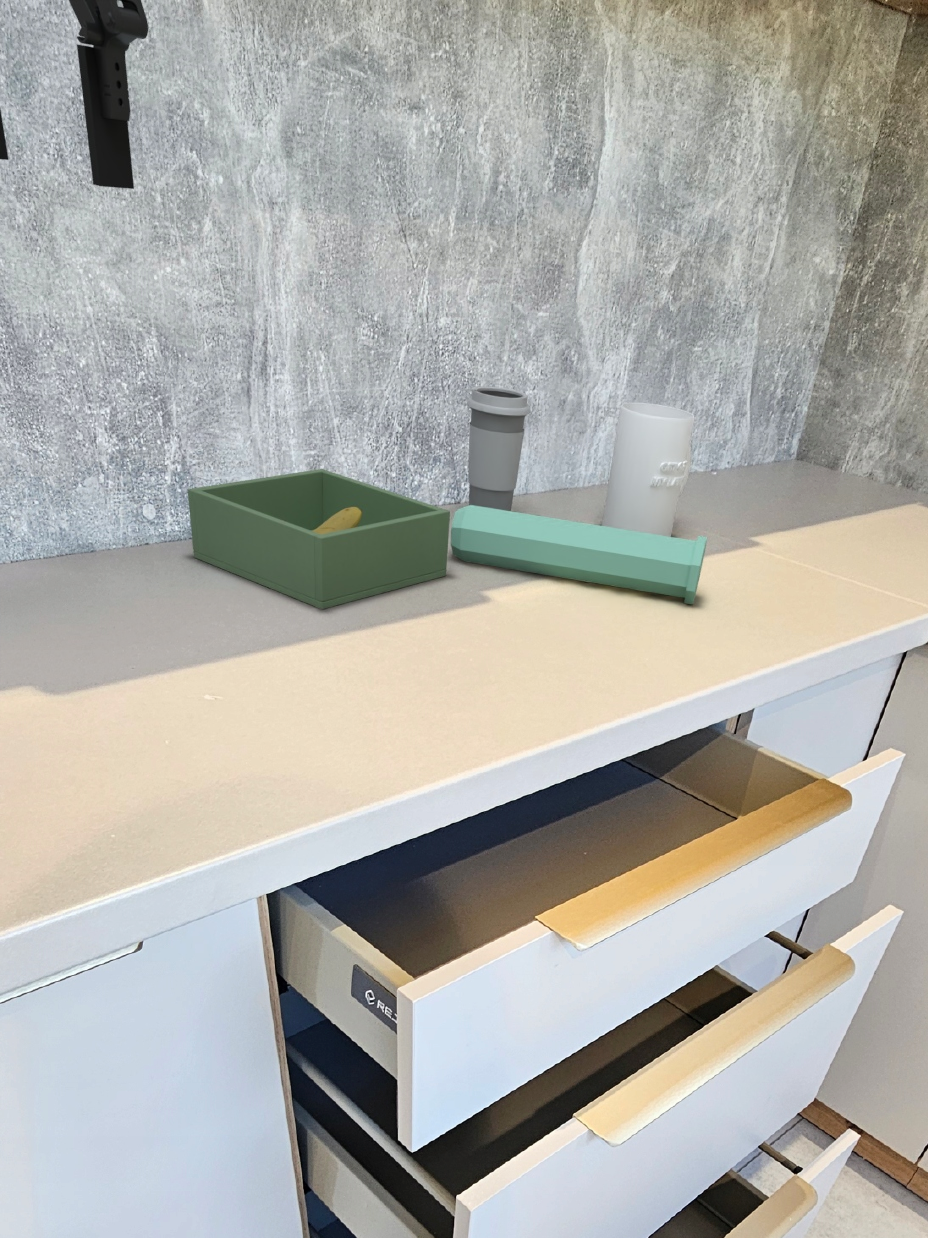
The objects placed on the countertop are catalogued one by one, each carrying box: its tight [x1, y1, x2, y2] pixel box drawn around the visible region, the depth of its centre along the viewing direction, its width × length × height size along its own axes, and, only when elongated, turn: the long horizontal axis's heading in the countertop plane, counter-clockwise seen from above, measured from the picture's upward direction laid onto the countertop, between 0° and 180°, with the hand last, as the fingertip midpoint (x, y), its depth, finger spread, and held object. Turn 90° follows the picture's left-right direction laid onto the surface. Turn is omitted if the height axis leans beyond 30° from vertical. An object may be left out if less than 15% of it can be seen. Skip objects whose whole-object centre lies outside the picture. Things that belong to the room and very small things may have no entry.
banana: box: [280, 507, 362, 535], centre depth 93 cm, size 10×2×4 cm, turn 142°
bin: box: [187, 468, 451, 610], centre depth 92 cm, size 17×17×6 cm
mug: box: [601, 402, 695, 537], centre depth 111 cm, size 8×12×12 cm
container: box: [450, 504, 708, 605], centre depth 98 cm, size 6×6×25 cm
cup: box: [466, 385, 531, 511], centre depth 109 cm, size 7×7×12 cm
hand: (49, 172), depth 70 cm, fingers open, 13 cm apart
